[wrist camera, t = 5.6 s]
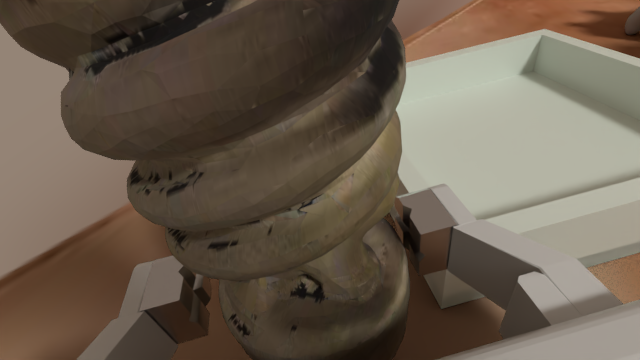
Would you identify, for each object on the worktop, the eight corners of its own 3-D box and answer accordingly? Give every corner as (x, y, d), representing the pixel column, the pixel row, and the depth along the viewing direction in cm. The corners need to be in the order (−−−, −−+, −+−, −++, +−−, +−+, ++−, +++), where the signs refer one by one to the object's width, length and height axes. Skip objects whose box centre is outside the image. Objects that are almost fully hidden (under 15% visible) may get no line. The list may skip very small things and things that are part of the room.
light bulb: (253, 433, 12) (-284, -75, 3) (290, 297, 16) (128, -91, 7) (411, 463, 11) (440, -365, 1) (407, 307, 15) (408, -164, 5)
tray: (441, 309, 14) (448, 252, 12) (341, 123, 28) (335, 80, 26) (803, 205, 15) (880, 133, 13) (533, 75, 29) (544, 28, 27)
